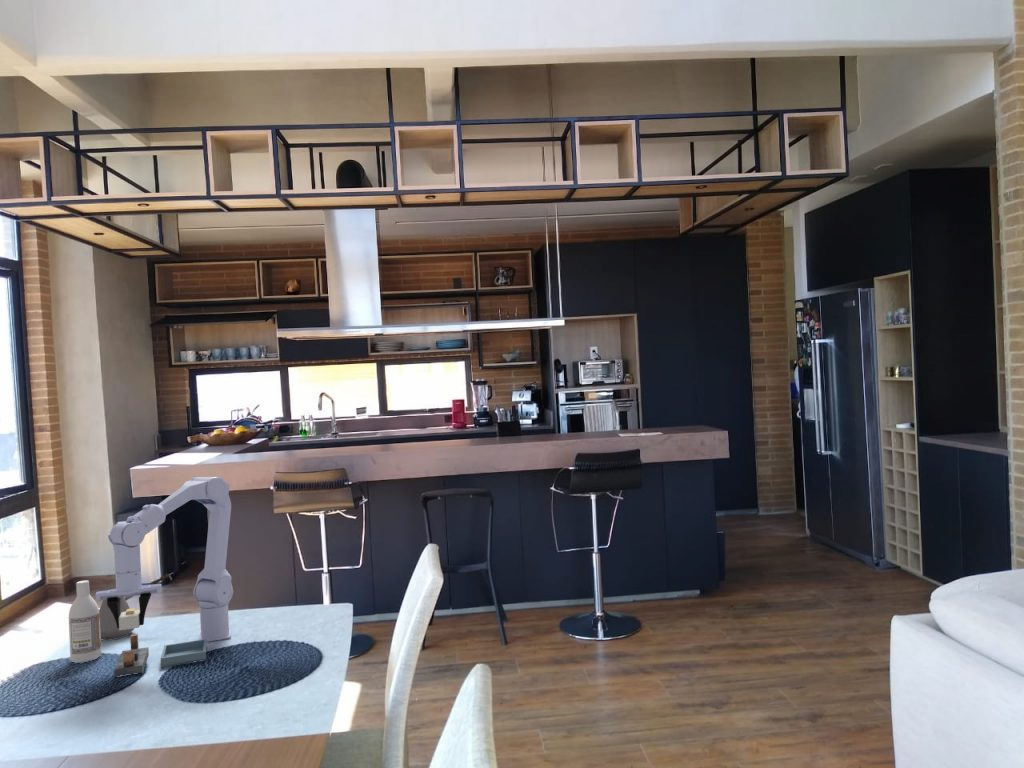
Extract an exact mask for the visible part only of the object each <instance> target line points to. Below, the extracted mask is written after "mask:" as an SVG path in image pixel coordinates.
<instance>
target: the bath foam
mask: <svg viewBox="0 0 1024 768" xmlns="http://www.w3.org/2000/svg"><path fill="white" fill-rule="evenodd" d="M75 587H76V588H75V589H76V598H75V599H74V601H73V602H72V605H71V606H70V608H69V610H68V611H69V612H68V630H69V631H68V632H69V633H68V634H69V654H70V657H69V658H70V662H71V661H72V662H82V661H88V660H92V659H95V658H98V657H99V656H101V657H102V640H101V634H100V612H99V609H100V607H99V605H98V603H97V601H96V599H94V597H92V596H91V594H90V581H89V580H88V579H87V580H80V581H77V582H76V583H75ZM98 659H99V658H98ZM72 662H71V663H72Z"/></svg>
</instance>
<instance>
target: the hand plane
mask: <svg viewBox="0 0 1024 768" xmlns="http://www.w3.org/2000/svg"><path fill="white" fill-rule="evenodd" d="M129 639H130V649H128V650H127V649H126V650H122V652H121V654H120V656H119V658H118V660H117V662H116V665H115V667H114V669H113V670H114V671H113V672H114V677H115V676H120V675H126V674H133V673H144V671H145V668H146V665H147V663H148V662H147V661H148V659H149V656H150V654H149V646H148V647H142V648H139V647H140V646H139V633H133V634H130V635H129ZM145 664H146V665H145ZM144 667H145V668H144ZM143 670H144V671H143Z"/></svg>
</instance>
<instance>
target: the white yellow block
mask: <svg viewBox="0 0 1024 768" xmlns="http://www.w3.org/2000/svg"><path fill="white" fill-rule="evenodd" d="M140 627H141V625H140V609H136V607H130V609H127V610H126V611H125V612H122V613H121V615H120V617H119V630H126V629H133V628H134V629H138V628H140Z"/></svg>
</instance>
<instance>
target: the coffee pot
mask: <svg viewBox="0 0 1024 768" xmlns="http://www.w3.org/2000/svg"><path fill="white" fill-rule="evenodd" d="M167 578H169V580H170V581H172V580H173V578H172V576H171V574H170V573H167V574H165V575H164V576H160V578H158V579H157V578H156V579H155V580H153V581H151V582H150V583H148V584H147V585H155V584H160V582H161V581H164V579H167ZM111 589H116V587H114V588H107V589H105V590H103V591H106V590H111ZM133 597H134V596H129V597H121V598H120V613H122V612H125V611H126V610H127V609H131V607H130V605H129V603H128V602H127V601H128V600H130V599H131V598H133ZM99 612H100V634H101V639H103V640H102V641H111V640H110V639H113V640H117V639H118V638H119V639H121V638H122V637H123V638H125V637H128V636H130V635H131V633H132V632H133V631H134V630H135V628H133V629H126V630H119V628H117V624H116V621H115V618H114V616H113V614H112V612H111V610H110V608H109V607H108V605H107V599H106V600H102V602H101V604H100V607H99ZM123 638H122V639H123Z"/></svg>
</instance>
